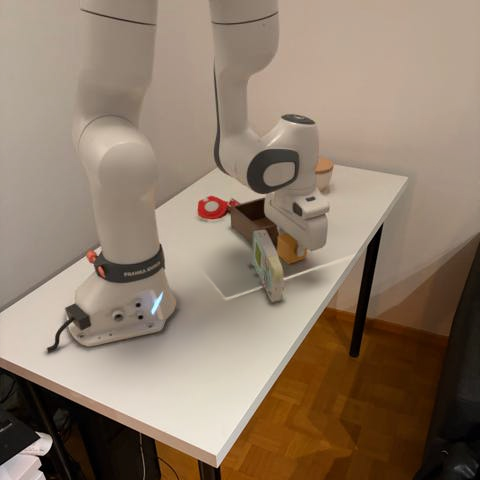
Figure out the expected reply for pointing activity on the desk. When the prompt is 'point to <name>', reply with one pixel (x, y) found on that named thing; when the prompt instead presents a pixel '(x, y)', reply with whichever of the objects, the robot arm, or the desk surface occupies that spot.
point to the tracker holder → (214, 207)
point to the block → (288, 248)
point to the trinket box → (323, 172)
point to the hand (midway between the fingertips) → (291, 248)
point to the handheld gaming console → (267, 264)
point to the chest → (252, 220)
